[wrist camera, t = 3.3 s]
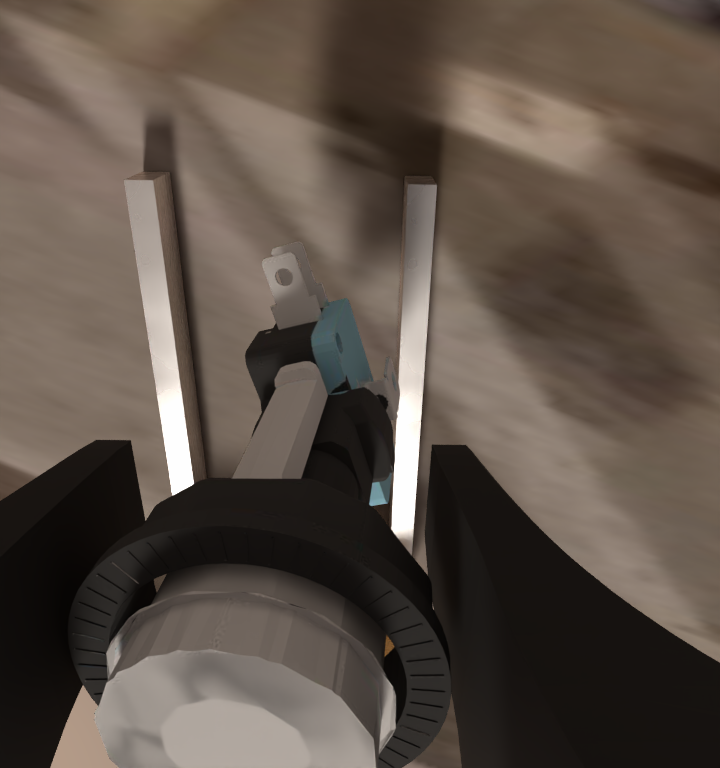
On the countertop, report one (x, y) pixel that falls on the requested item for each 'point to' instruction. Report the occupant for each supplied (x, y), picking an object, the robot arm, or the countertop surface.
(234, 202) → the countertop surface
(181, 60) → the countertop surface
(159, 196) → the rail
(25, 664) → the robot arm
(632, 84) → the countertop surface
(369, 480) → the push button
